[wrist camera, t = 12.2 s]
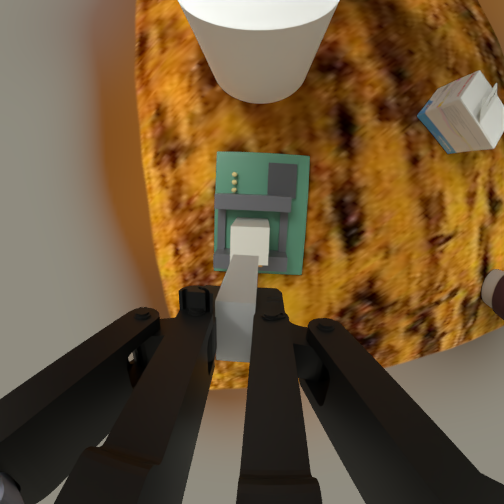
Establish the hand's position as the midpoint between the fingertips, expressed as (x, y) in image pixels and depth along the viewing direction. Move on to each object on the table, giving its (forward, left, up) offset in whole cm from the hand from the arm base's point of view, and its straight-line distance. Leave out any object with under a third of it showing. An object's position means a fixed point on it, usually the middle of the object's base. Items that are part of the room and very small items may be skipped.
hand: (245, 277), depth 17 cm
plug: (+1, 0, -21) cm, 21 cm away
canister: (-24, 0, -22) cm, 32 cm away
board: (-2, +1, -22) cm, 22 cm away
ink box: (-20, +30, -22) cm, 42 cm away
